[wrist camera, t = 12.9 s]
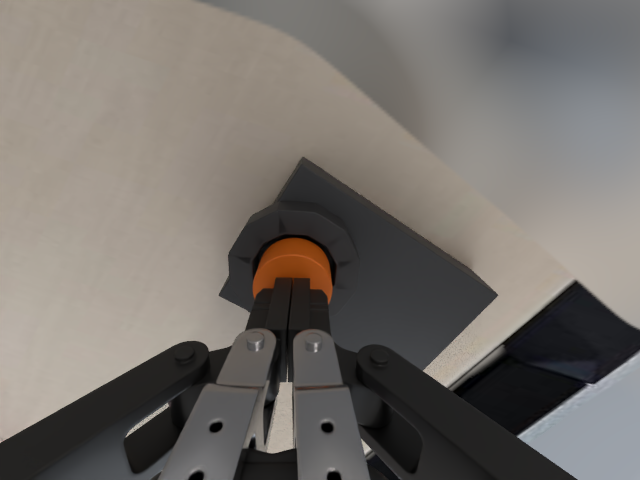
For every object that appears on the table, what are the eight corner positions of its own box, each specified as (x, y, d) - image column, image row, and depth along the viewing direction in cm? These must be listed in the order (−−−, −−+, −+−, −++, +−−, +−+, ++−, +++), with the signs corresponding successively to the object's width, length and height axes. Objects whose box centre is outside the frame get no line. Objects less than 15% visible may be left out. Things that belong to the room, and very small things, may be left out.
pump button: (246, 279, 16) (237, 301, 14) (282, 223, 15) (278, 239, 13) (305, 310, 16) (304, 335, 15) (343, 260, 15) (348, 280, 13)
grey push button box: (221, 264, 20) (195, 308, 16) (292, 148, 18) (285, 159, 13) (391, 356, 24) (411, 414, 19) (472, 270, 21) (518, 313, 16)
